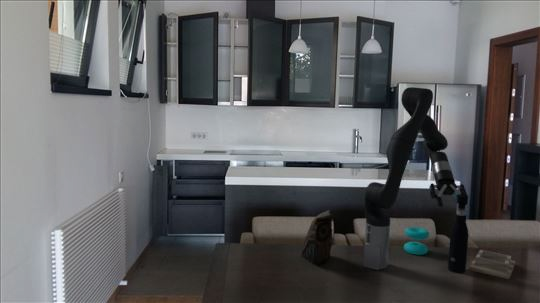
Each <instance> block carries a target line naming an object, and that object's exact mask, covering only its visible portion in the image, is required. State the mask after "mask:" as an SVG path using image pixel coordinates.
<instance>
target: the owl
mask: <svg viewBox="0 0 540 303" xmlns="http://www.w3.org/2000/svg"><path fill="white" fill-rule="evenodd" d="M333 221H334V219H333V217H332V213H331V210H330V209H328V210H326V211H323V212H321V213H319V214H318V215H316V216H315V217H314V218H313V220H312V221H311V223H310V226H309V228H308V230H307V233H306V236H305V239H304V242H303V245H302V249H301V255H300V257H302V258H303V259H305V260H306V261H308V262H310V263H311V264H312V265H314V266H323V265H327V263H329V262H330V261H329V260H331V249H332V246H333V243H332V240H333V227H332V225H333Z"/></svg>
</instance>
